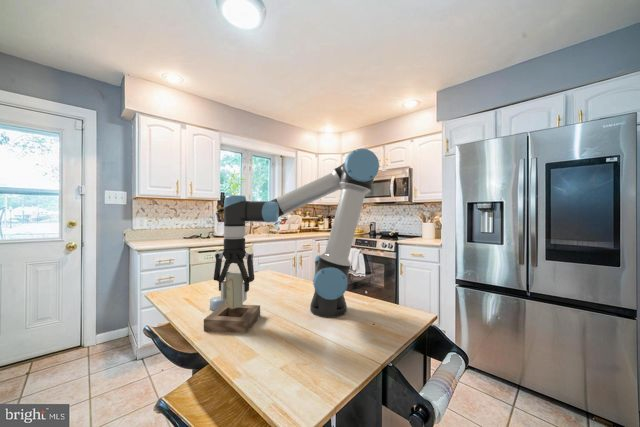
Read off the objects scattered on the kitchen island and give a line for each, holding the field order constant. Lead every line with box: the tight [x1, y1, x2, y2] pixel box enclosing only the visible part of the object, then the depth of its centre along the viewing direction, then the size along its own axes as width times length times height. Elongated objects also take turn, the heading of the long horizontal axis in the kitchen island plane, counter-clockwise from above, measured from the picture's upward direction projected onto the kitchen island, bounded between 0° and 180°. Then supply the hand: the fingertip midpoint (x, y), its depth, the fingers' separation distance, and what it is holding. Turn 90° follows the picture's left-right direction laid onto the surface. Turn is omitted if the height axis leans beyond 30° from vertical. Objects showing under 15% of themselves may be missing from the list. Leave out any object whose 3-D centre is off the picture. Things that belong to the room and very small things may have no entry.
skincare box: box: [224, 270, 244, 309], centre depth 97 cm, size 6×4×12 cm
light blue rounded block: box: [209, 295, 225, 312], centre depth 111 cm, size 7×7×4 cm
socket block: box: [203, 304, 261, 334], centre depth 97 cm, size 15×15×4 cm
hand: (233, 299), depth 97 cm, fingers closed on skincare box, 7 cm apart
